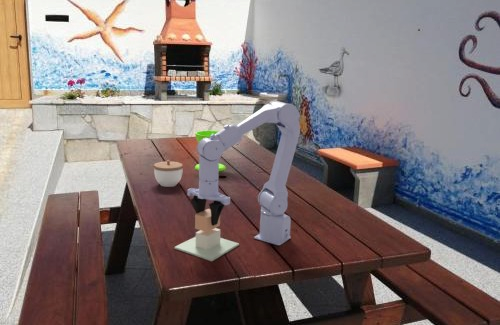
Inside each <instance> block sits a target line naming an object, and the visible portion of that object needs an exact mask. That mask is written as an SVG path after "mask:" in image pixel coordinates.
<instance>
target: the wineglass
mask: <svg viewBox="0 0 500 325" xmlns="http://www.w3.org/2000/svg"><path fill="white" fill-rule="evenodd" d="M219 131H220V130H218V131H217V130H200V131H196V132H195V139H196V141H197V143H198V144H199V143H200V141H201V140H202V139H204V138H210V135H211V134H216V133H217V132H219ZM226 167H227V166H225V165H224V164H222V163H219V172H222V171H225V170H226V169H227V168H226ZM194 169H195V170H197V171H199V163H198V164H196V165H195V167H194Z"/></svg>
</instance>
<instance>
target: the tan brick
mask: <svg viewBox="0 0 500 325" xmlns="http://www.w3.org/2000/svg"><path fill="white" fill-rule="evenodd" d="M220 226H221V215H220V216H219V219H218V223H217V224H216V225H214V226H213V225H212V224H211V210H210V208H207V209H206V208H205V210H204V211H202V212H200V213H197V214H196V213H195V216H194V229H195V230H197V231H200V230H201V231H205V232H209V231H210V230H212V229H214V228H218V227H220Z"/></svg>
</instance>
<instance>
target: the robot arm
mask: <svg viewBox="0 0 500 325" xmlns="http://www.w3.org/2000/svg"><path fill="white" fill-rule="evenodd" d="M300 115H301V114H300V112H299V110H298V108H297V107H296V106H295V105H294V104H292V103H287V102H282V101H280V100H272V101H270V102H269V103H266V104H263V106H262V107H261V108H260V109H259V110H257V111H255V112H254V113H253V114H251V115H250V116H248V117H247V118H245V119H244V120H242V121H241V122H239V123H238V124H237V125H235V124H225V125H224V126H223V128H222V129H221V130H218V131H219V132H217V133H216V134H211V135H210V138H204V139H202V140H201V141H200V143H198V144H197V146H196V147H195V148H196V151H197V153H198V155H199V163H198V164H199V170H198V188H193V187H191V188H188V189H187V190H186V191H187V196H189V197H191V196H192V198H191V199H190V203H191V205H193V206H192V207H193V208H194V210H195V214H197V213H200V212H202V211H204V210H206V204H207V200H208V201H212V202H211V203H209V204H208V207H209V209H210V210H211V224H212V225H213V226H214V225H216V224H217V223H218V219H219V216H220V217H221V213H222V211H223V209H224V207H225V206H228V205H230V204H231V197H230V196H226V195H224V194H222V193H221V192H219V172H220V171H219V164H220V163H219V161H220V158H221V157H222V155H223V153H224V152H225V151H227V150H229V149H230V148H232V147H234V146H235V145H236V144H238V143H240V142H241V141H242V140H243V136H244V135H245V134H247V133H249V132H251V131H253V130H254V129H256V128H258V127H259V126H262V125H263V124H265V123H268V124H269V123H270V124H275V125H276V126H277V128H278V129H279V131H280V133H281V135H280V139H279V142H278V147H277V150H276V154H275V156H274V157H275V158H274V160H273V164H272V168H271V172H270V176H269V180H268V181H266V182H265V183H264V184H263V187H262V189H261V191H260V192H259V194H258V196H257V202H258V203H259V205H260V220H259V233H258V234H257V235H255V236H253V238H254V239H255V240H259V241H262V242H265V243H268V244H272V245H275V246H281V245H283V244H284V243H286V242H287V241H288V240H289V239H291V238H292V237H291V227H292V226H291V224H292V220H291V216H289V215H287V214H286V213H285V212H286V211H287V210H288V206H289V203H288V196H289V192H288V189H287V186H286V185H287V181H288V178H289V174H290V171H291V167H292V164H293V163H292V162H293V159H294V155H295V152H296V149H297V145H298V141H299V139H300V138H299V137H300V135H301V127H300V120H299V119H300Z"/></svg>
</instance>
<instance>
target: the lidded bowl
mask: <svg viewBox="0 0 500 325" xmlns="http://www.w3.org/2000/svg"><path fill="white" fill-rule="evenodd" d="M183 168H184V165H183V163H181V162H178V161H170V159H167V160H165V161H159V162H156V163H153V170H154V171H153V174H154V178H155V180H156V181H157V182H156V183H158V184H160V186H161V187H166V188H167V187H168V188H169V187H170V188H171V187H176V186H177V184H178V183H179V182H180V181H181V180H182V177H183Z"/></svg>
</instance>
